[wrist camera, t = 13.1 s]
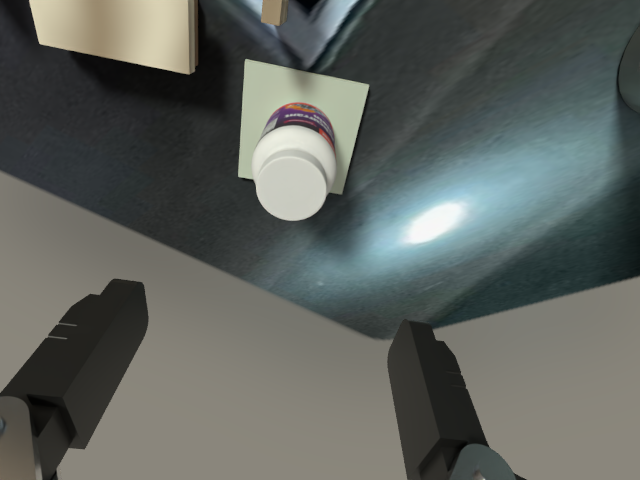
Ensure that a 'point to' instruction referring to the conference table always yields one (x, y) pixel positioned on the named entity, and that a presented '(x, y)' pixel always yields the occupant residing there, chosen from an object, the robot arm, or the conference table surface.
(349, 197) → the conference table surface
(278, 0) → the enclosure
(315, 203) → the pill bottle
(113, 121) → the conference table surface
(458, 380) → the robot arm
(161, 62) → the offcut stack
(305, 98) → the sage mat
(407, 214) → the conference table surface
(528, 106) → the conference table surface
